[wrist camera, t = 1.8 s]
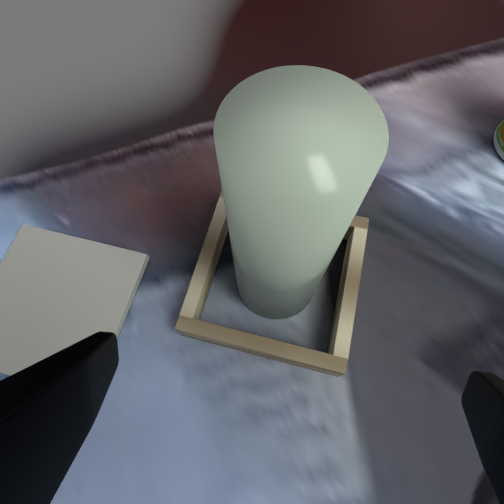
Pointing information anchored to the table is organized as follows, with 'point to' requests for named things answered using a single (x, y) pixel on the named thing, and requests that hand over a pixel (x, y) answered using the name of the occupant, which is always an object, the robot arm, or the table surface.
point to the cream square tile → (61, 293)
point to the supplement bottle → (499, 139)
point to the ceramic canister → (293, 178)
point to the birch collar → (268, 347)
